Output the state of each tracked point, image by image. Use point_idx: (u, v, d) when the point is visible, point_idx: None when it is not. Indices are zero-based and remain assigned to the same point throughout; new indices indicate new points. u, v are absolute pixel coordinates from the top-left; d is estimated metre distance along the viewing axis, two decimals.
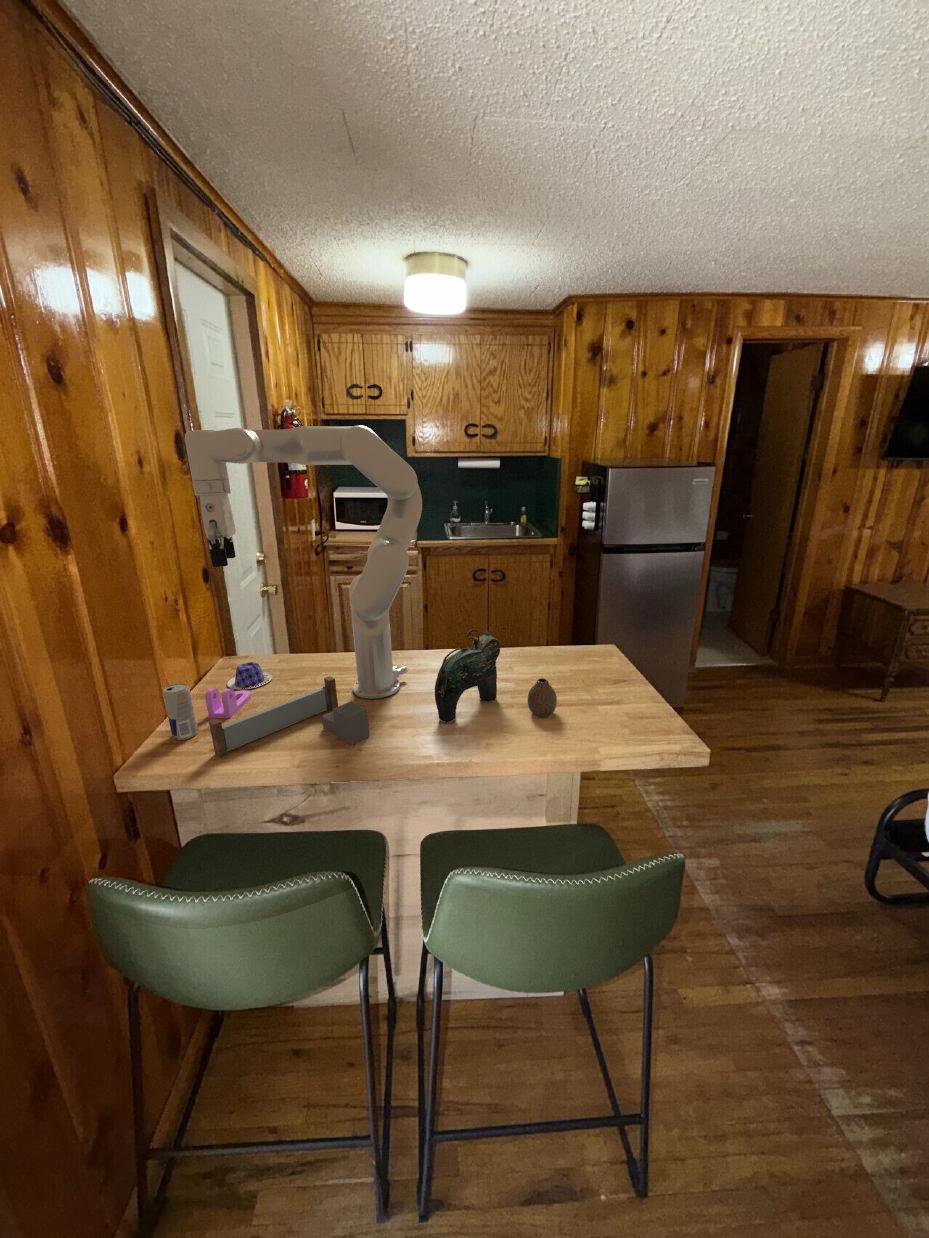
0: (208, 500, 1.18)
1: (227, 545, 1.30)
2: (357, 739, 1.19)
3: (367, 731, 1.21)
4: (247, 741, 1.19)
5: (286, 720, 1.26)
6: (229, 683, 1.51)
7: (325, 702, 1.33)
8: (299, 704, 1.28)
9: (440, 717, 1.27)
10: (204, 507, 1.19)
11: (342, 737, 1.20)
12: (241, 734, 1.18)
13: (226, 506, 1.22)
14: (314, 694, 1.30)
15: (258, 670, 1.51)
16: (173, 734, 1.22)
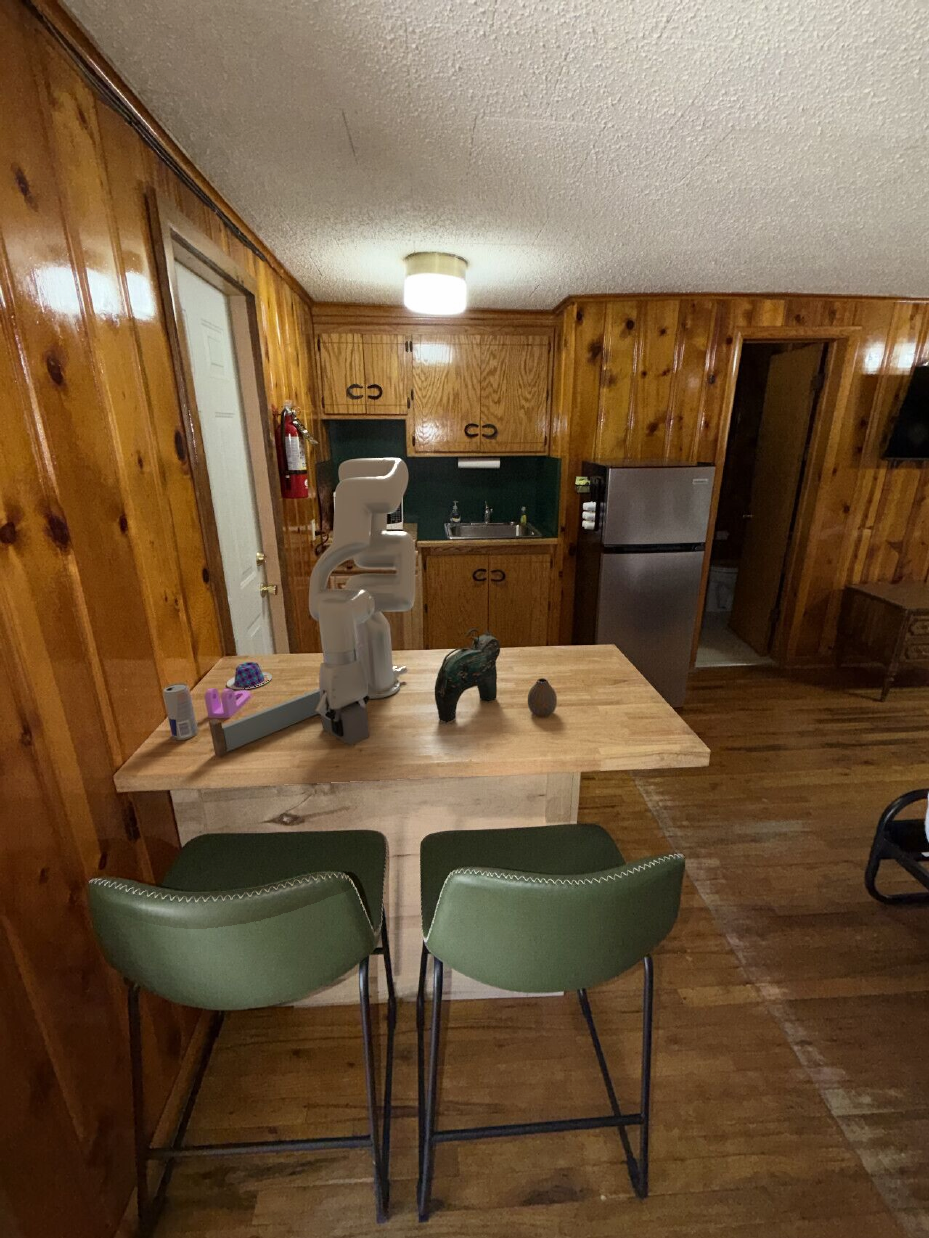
0: None
1: None
2: (356, 739, 1.19)
3: (367, 731, 1.21)
4: (247, 741, 1.19)
5: (286, 720, 1.26)
6: (229, 683, 1.51)
7: None
8: (299, 704, 1.28)
9: (440, 717, 1.27)
10: None
11: (342, 737, 1.20)
12: (241, 734, 1.18)
13: None
14: (314, 694, 1.30)
15: (258, 670, 1.51)
16: (173, 734, 1.22)
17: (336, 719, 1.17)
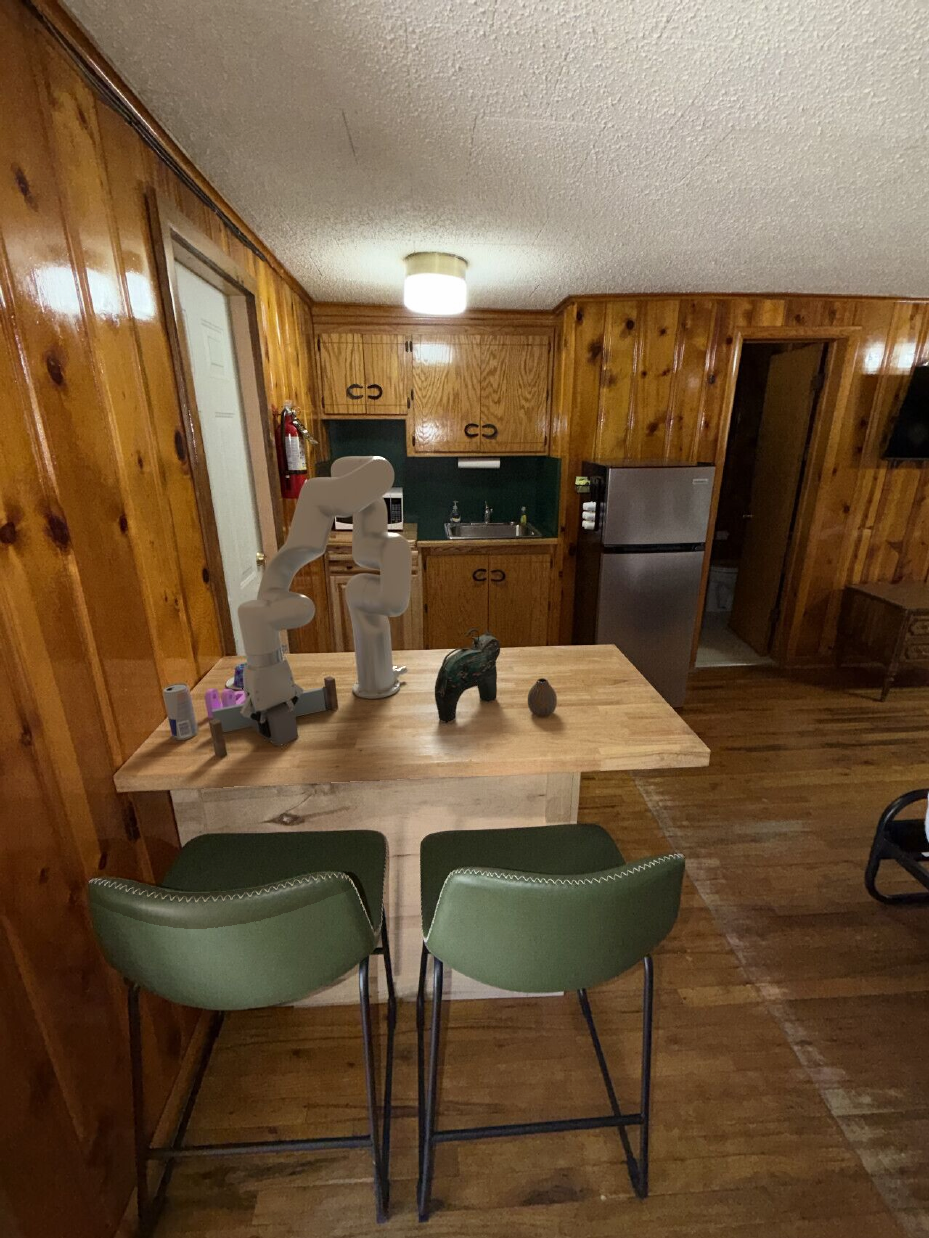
0: None
1: None
2: (284, 740, 1.19)
3: (295, 731, 1.21)
4: (237, 727, 1.26)
5: None
6: (228, 683, 1.51)
7: (324, 702, 1.33)
8: None
9: (440, 717, 1.27)
10: None
11: (270, 738, 1.20)
12: (230, 720, 1.25)
13: None
14: (311, 692, 1.31)
15: None
16: (173, 734, 1.22)
17: (262, 721, 1.17)
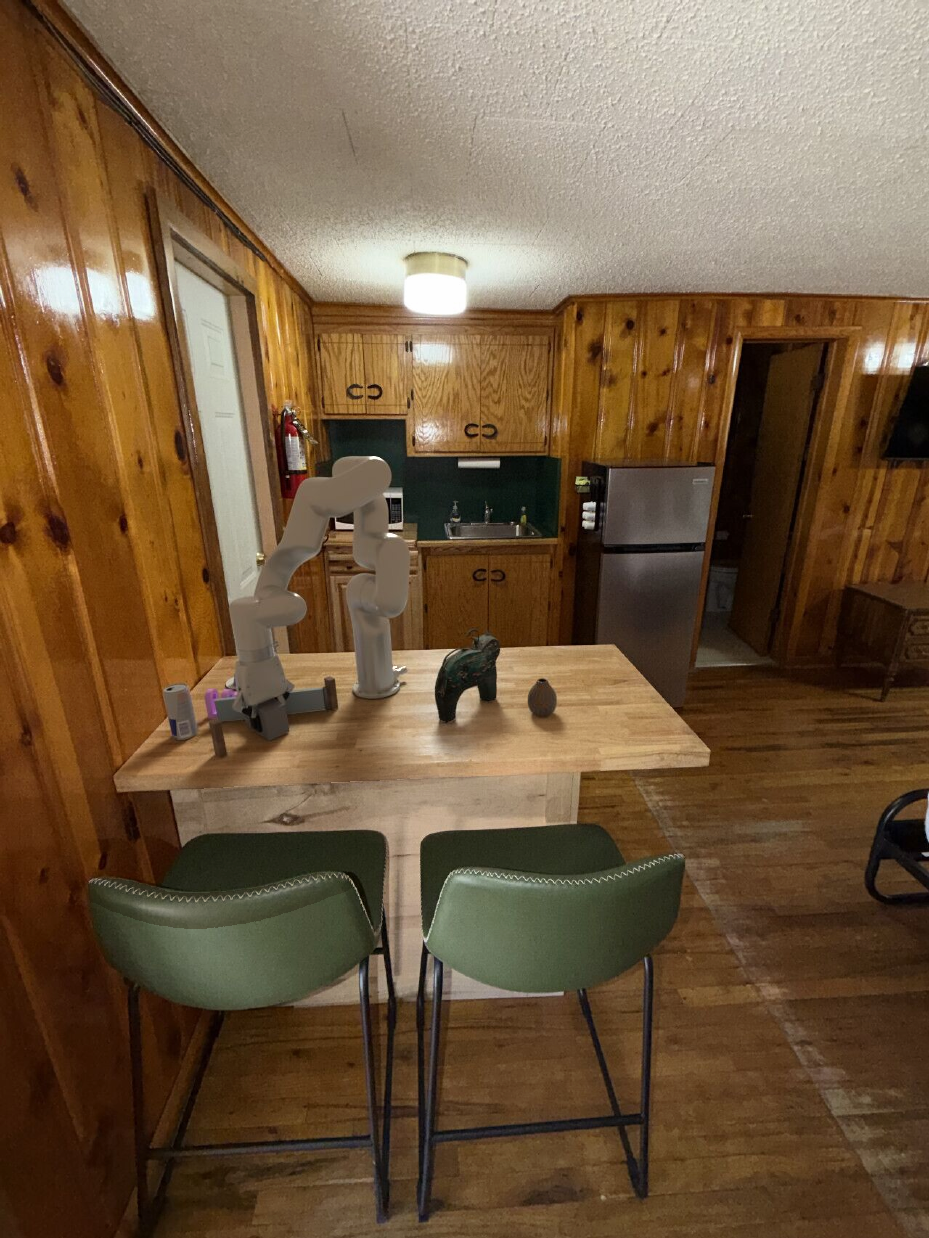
0: None
1: None
2: (275, 734, 1.21)
3: (286, 726, 1.23)
4: (237, 718, 1.30)
5: None
6: (228, 682, 1.51)
7: (323, 702, 1.33)
8: (293, 697, 1.31)
9: (440, 717, 1.27)
10: None
11: (262, 732, 1.22)
12: (232, 710, 1.29)
13: None
14: (310, 691, 1.32)
15: None
16: (173, 734, 1.22)
17: (253, 715, 1.20)
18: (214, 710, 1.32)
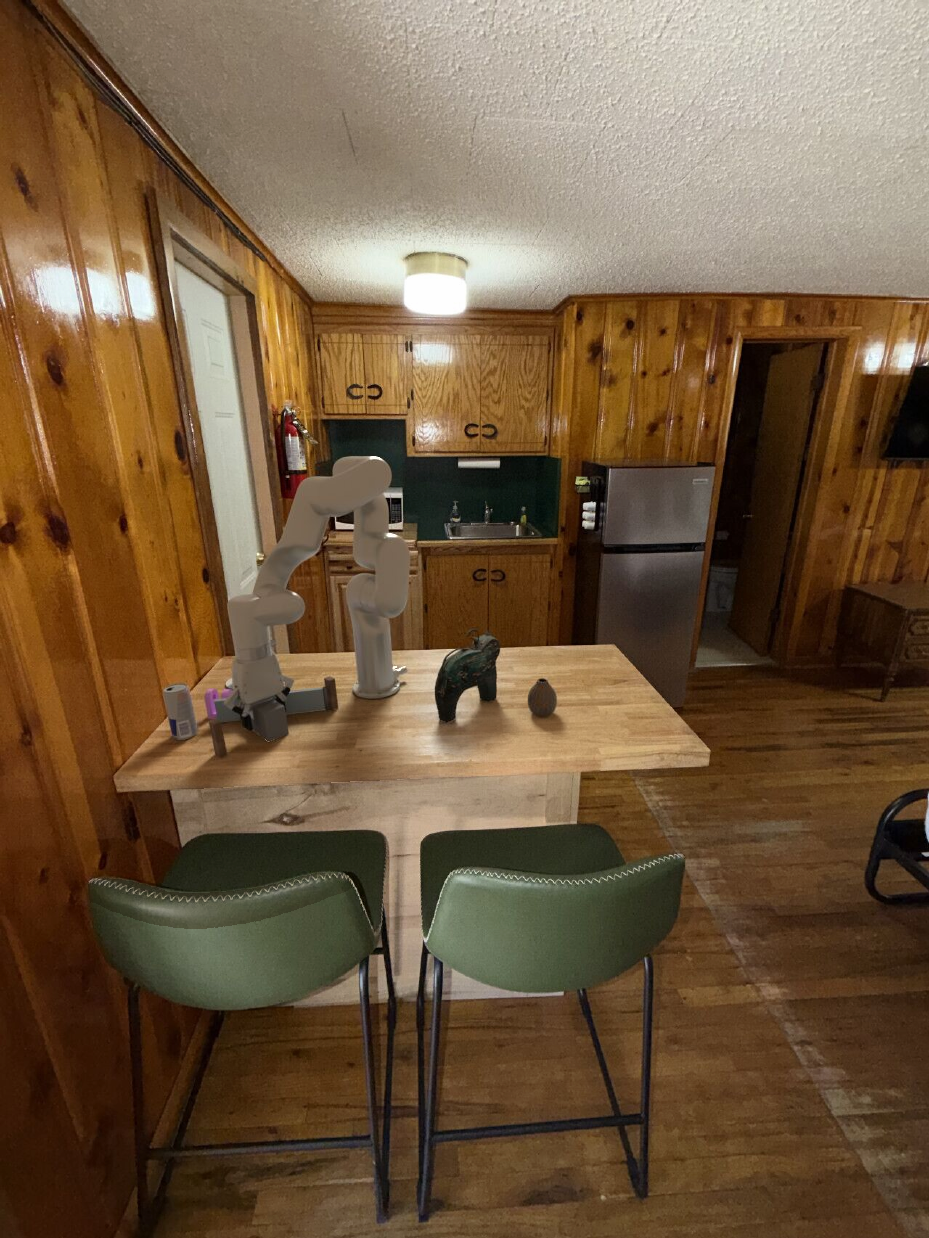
0: None
1: None
2: (274, 736, 1.21)
3: (286, 728, 1.23)
4: (237, 718, 1.30)
5: None
6: (228, 682, 1.52)
7: (323, 702, 1.33)
8: (293, 697, 1.31)
9: (440, 717, 1.27)
10: None
11: (261, 733, 1.22)
12: (231, 711, 1.29)
13: None
14: (310, 691, 1.32)
15: None
16: (173, 734, 1.22)
17: (244, 714, 1.18)
18: (214, 710, 1.32)
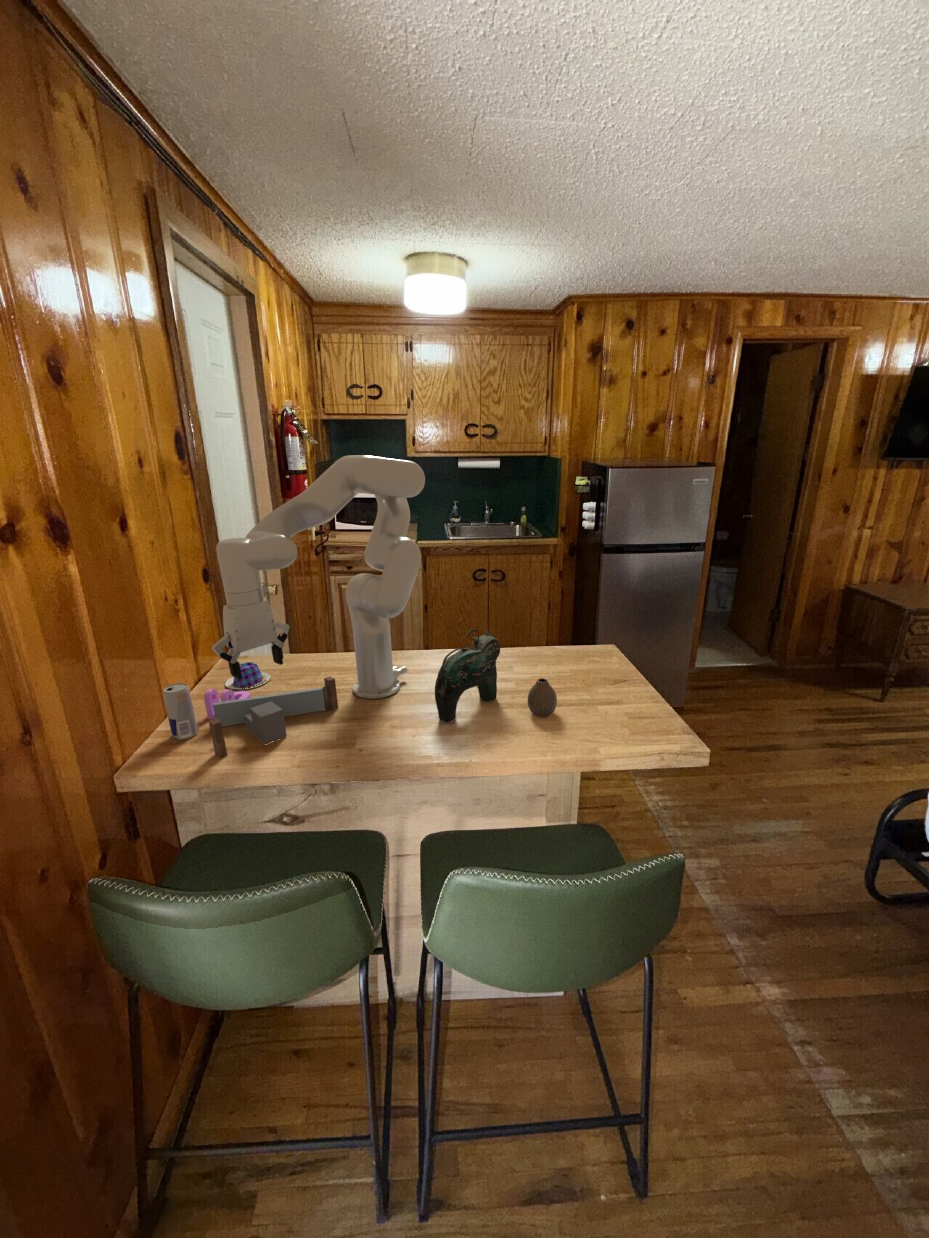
0: None
1: None
2: (272, 739, 1.20)
3: (283, 731, 1.22)
4: (237, 721, 1.28)
5: None
6: (228, 682, 1.52)
7: (323, 702, 1.33)
8: (293, 698, 1.31)
9: (440, 717, 1.27)
10: None
11: (259, 736, 1.21)
12: (230, 714, 1.27)
13: None
14: (311, 692, 1.31)
15: (255, 671, 1.50)
16: (173, 734, 1.22)
17: (232, 661, 1.14)
18: None
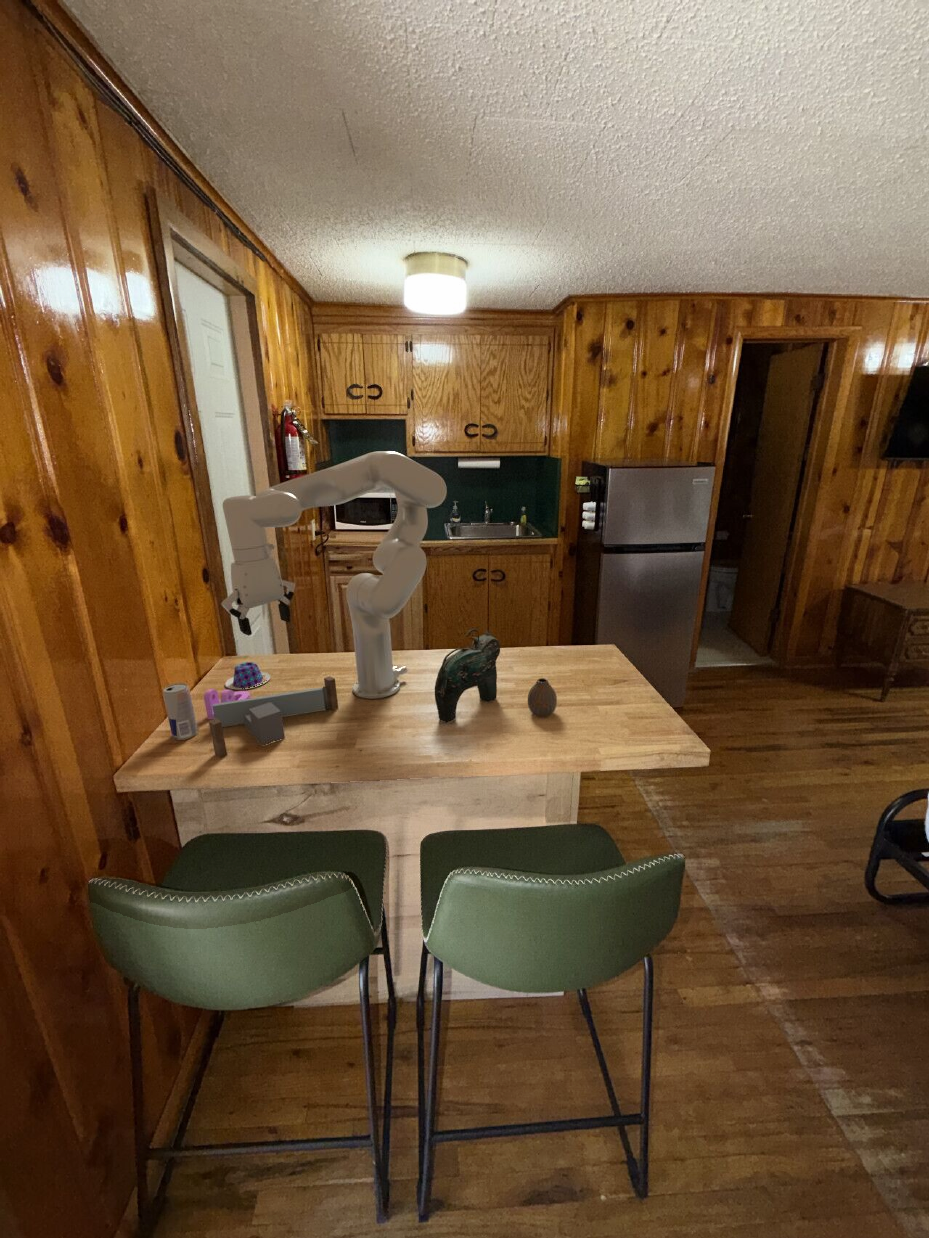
0: None
1: None
2: (270, 740, 1.20)
3: (282, 733, 1.21)
4: (236, 722, 1.28)
5: None
6: (228, 682, 1.52)
7: (324, 702, 1.33)
8: (293, 698, 1.30)
9: (440, 717, 1.27)
10: None
11: (257, 737, 1.21)
12: (230, 715, 1.27)
13: None
14: (311, 692, 1.31)
15: (255, 671, 1.50)
16: (173, 734, 1.22)
17: (242, 616, 1.17)
18: None
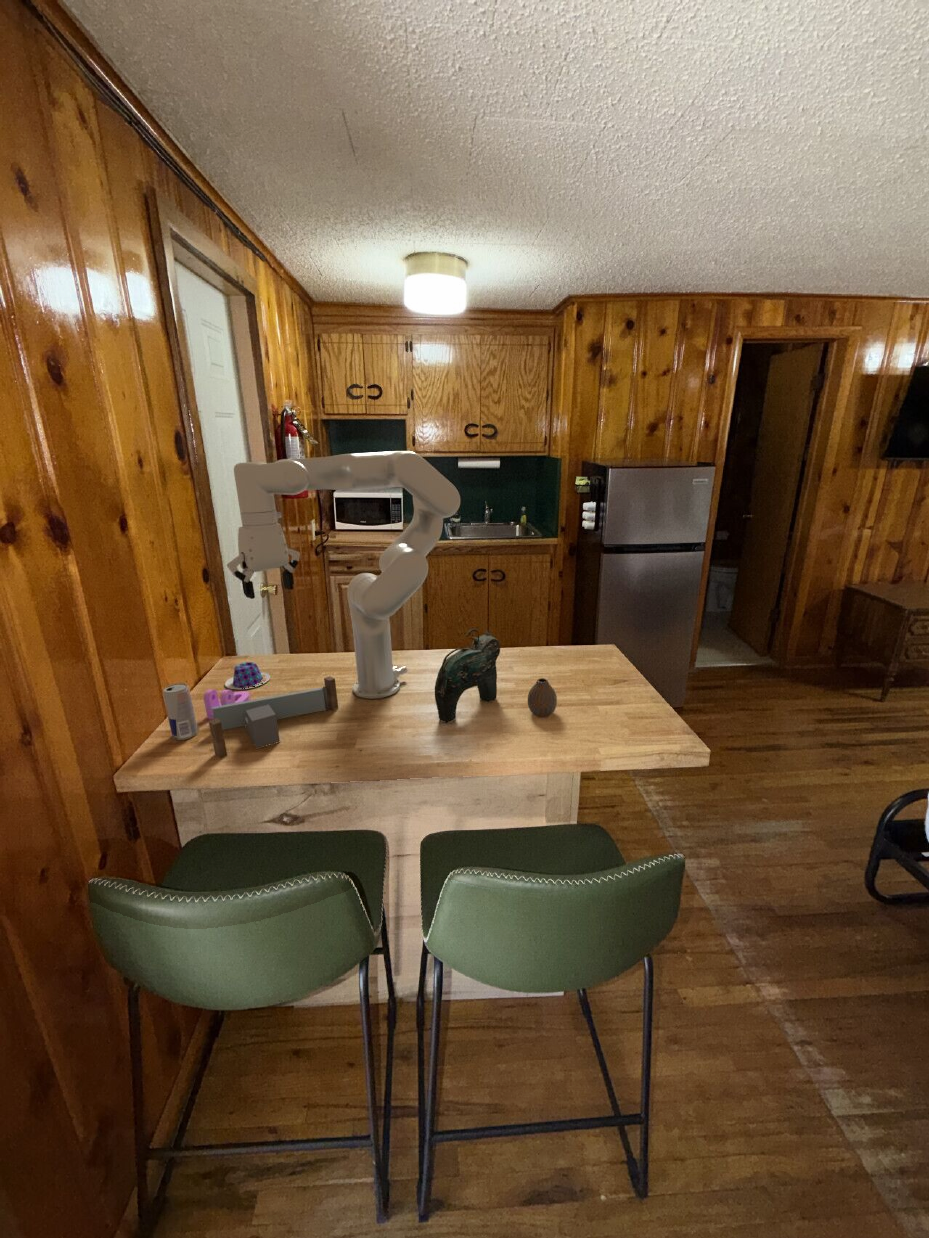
0: None
1: None
2: (264, 743, 1.18)
3: (276, 737, 1.20)
4: (236, 725, 1.27)
5: (279, 712, 1.30)
6: (228, 682, 1.52)
7: (324, 702, 1.33)
8: (294, 699, 1.30)
9: (440, 717, 1.27)
10: None
11: (253, 740, 1.20)
12: (230, 717, 1.26)
13: None
14: (311, 692, 1.31)
15: (254, 671, 1.50)
16: (173, 734, 1.22)
17: (246, 579, 1.20)
18: None
